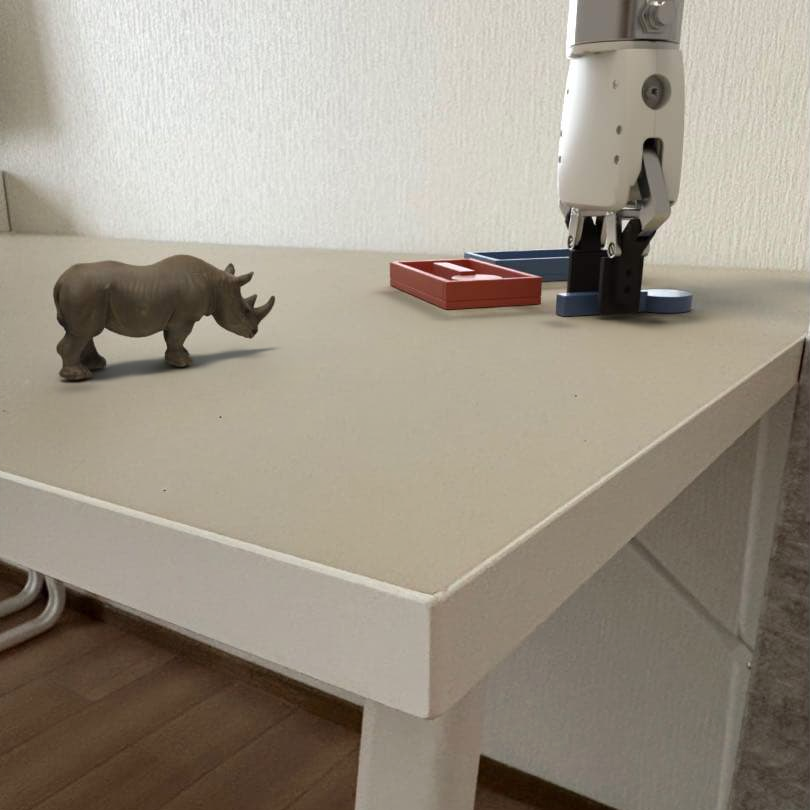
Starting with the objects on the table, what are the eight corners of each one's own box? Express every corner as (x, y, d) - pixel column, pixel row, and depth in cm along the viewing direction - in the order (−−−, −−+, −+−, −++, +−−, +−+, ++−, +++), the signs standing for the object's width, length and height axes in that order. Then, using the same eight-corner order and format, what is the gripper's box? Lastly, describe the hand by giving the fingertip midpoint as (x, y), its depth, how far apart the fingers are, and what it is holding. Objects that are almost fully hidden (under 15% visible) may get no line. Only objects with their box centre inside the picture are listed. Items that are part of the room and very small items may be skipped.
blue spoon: (572, 319, 64) (574, 298, 64) (547, 311, 68) (548, 291, 67) (702, 311, 67) (704, 291, 67) (670, 303, 71) (672, 284, 70)
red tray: (389, 285, 82) (389, 261, 81) (471, 281, 84) (472, 258, 83) (445, 309, 69) (446, 281, 68) (541, 304, 71) (542, 277, 70)
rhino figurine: (296, 353, 54) (290, 250, 51) (68, 385, 47) (48, 267, 44) (265, 342, 57) (258, 245, 55) (46, 371, 50) (27, 260, 47)
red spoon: (418, 280, 80) (418, 263, 80) (461, 278, 81) (461, 261, 81) (461, 297, 71) (462, 277, 70) (509, 294, 72) (510, 275, 71)
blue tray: (596, 267, 94) (598, 247, 93) (638, 276, 86) (640, 254, 86) (463, 273, 89) (463, 252, 89) (495, 284, 82) (496, 260, 81)
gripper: (750, 16, 53) (710, 323, 60) (610, 47, 68) (591, 291, 75) (641, 12, 51) (613, 330, 58) (521, 44, 66) (510, 296, 73)
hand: (601, 305), depth 67 cm, fingers open, 4 cm apart
